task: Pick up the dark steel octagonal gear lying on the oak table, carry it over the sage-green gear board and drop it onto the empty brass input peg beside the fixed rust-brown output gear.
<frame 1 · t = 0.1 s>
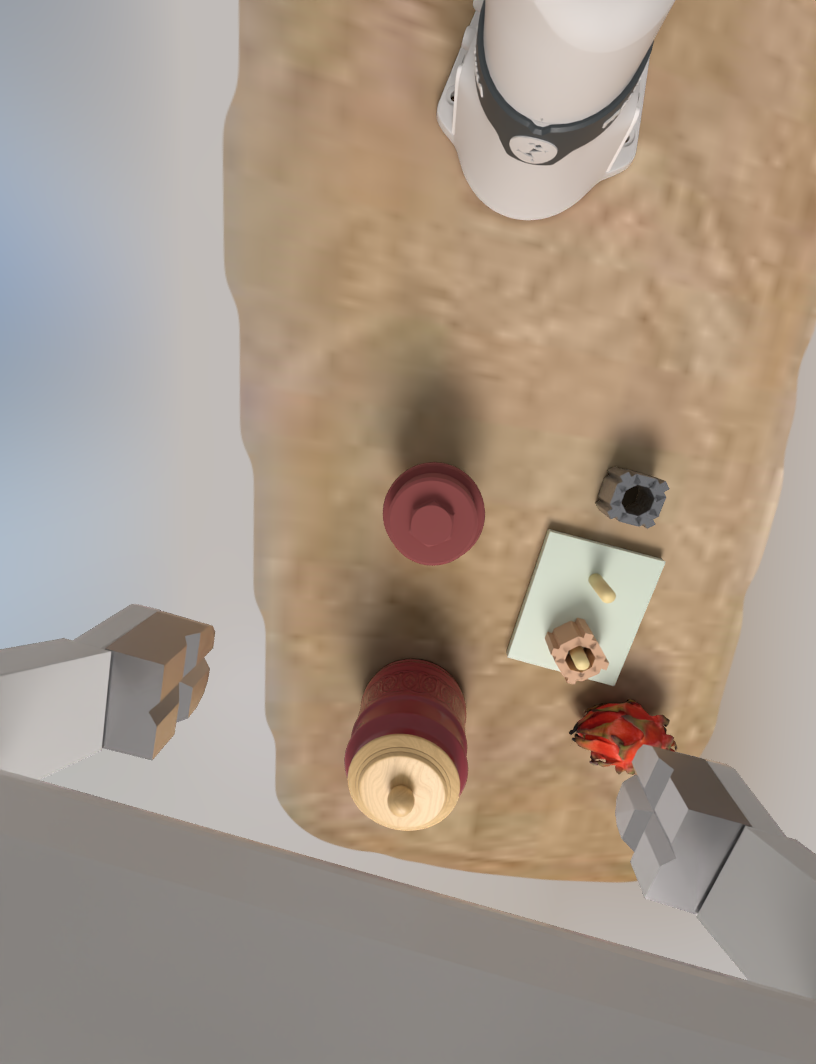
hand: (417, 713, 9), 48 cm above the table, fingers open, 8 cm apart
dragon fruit: (612, 718, 62), on the table
loose gear: (623, 492, 55), on the table
canister: (414, 701, 64), on the table
gear board: (580, 607, 59), on the table
mechanical component: (436, 499, 57), on the table
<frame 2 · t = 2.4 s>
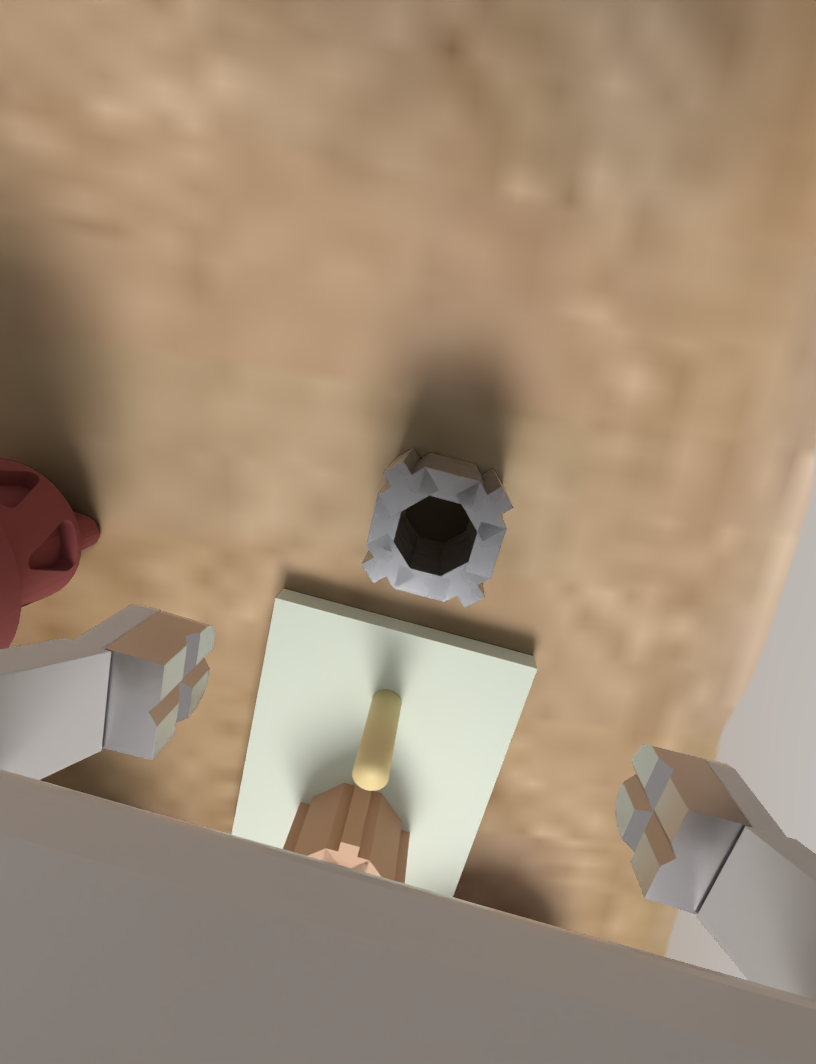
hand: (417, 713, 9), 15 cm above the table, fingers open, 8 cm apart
loose gear: (438, 509, 24), on the table
gear board: (372, 749, 28), on the table
mechanical component: (42, 521, 26), on the table
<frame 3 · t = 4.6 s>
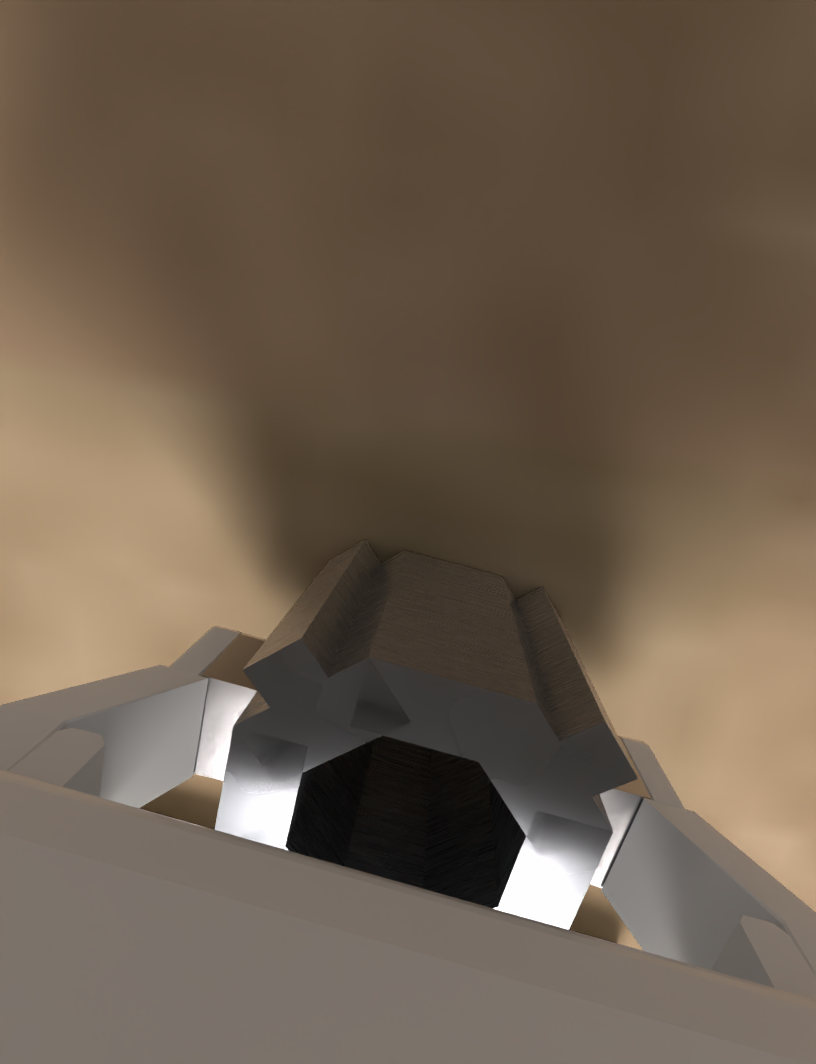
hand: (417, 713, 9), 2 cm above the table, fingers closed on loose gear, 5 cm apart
loose gear: (423, 667, 11), on the table, touching gripper
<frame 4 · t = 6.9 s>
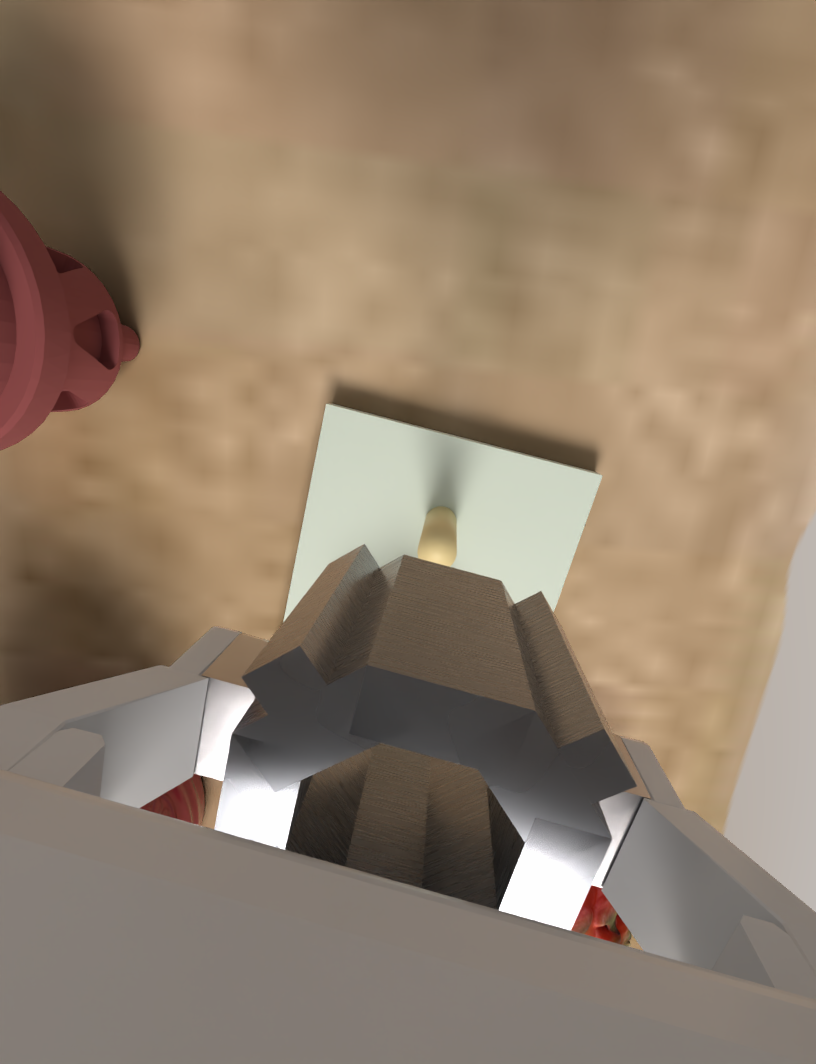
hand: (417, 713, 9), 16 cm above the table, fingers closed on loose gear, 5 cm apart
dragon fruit: (506, 821, 30), on the table
loose gear: (422, 672, 11), point 15 cm above the table, touching gripper
canister: (113, 780, 32), on the table
gear board: (421, 588, 26), on the table
mechanical component: (79, 337, 25), on the table
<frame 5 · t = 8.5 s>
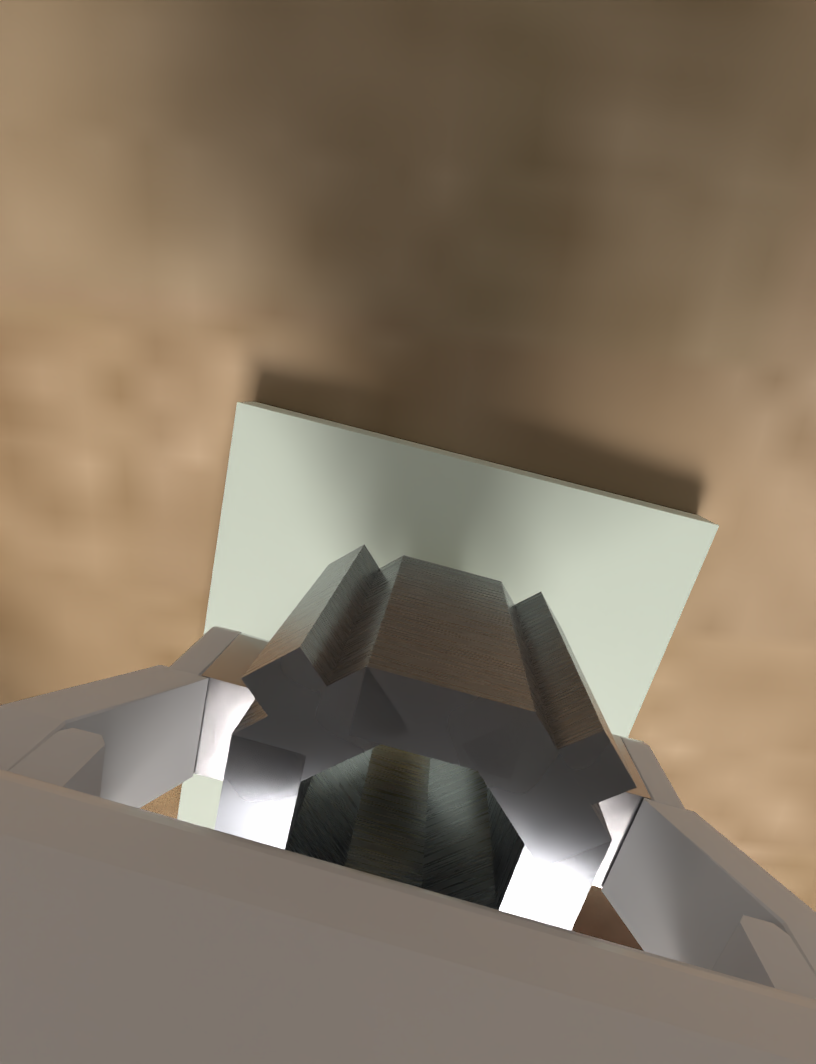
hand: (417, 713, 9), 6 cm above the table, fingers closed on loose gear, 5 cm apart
loose gear: (421, 672, 11), point 5 cm above the table, touching gripper
gear board: (407, 695, 16), on the table
when the fingers open (5 cm above the table, at t = 9.6 s): loose gear drops 2 cm, resting on gear board.
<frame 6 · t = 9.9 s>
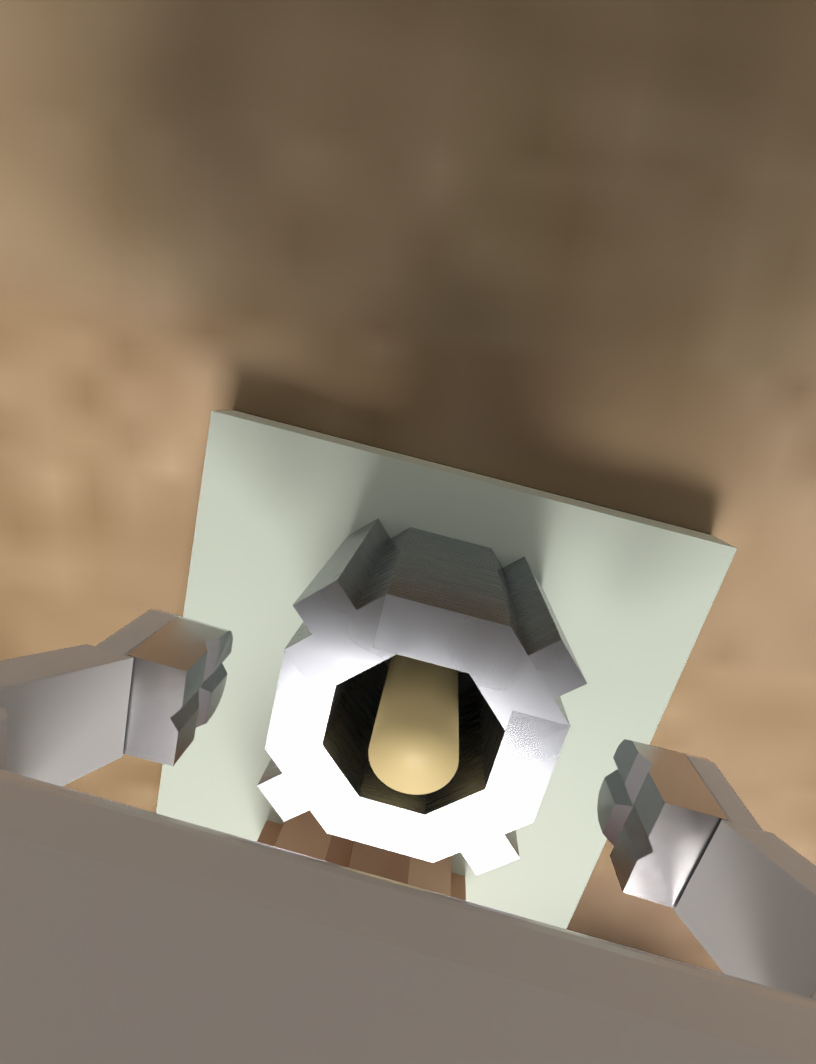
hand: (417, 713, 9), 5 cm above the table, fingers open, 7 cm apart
loose gear: (426, 626, 13), point 1 cm above the table, touching gear board
gear board: (397, 725, 15), on the table
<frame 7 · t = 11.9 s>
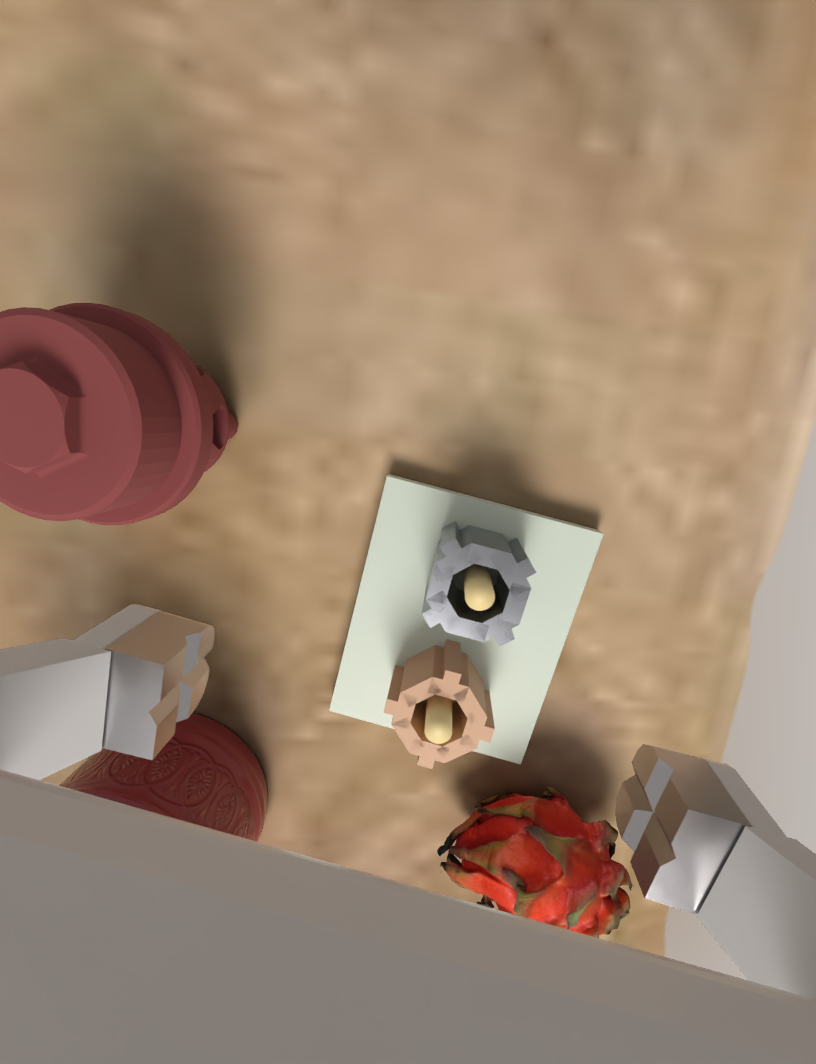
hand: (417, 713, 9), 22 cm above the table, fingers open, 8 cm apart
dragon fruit: (524, 817, 35), on the table
loose gear: (474, 568, 30), point 1 cm above the table, touching gear board
canister: (187, 783, 37), on the table
gear board: (457, 620, 32), on the table
mechanical component: (187, 419, 31), on the table
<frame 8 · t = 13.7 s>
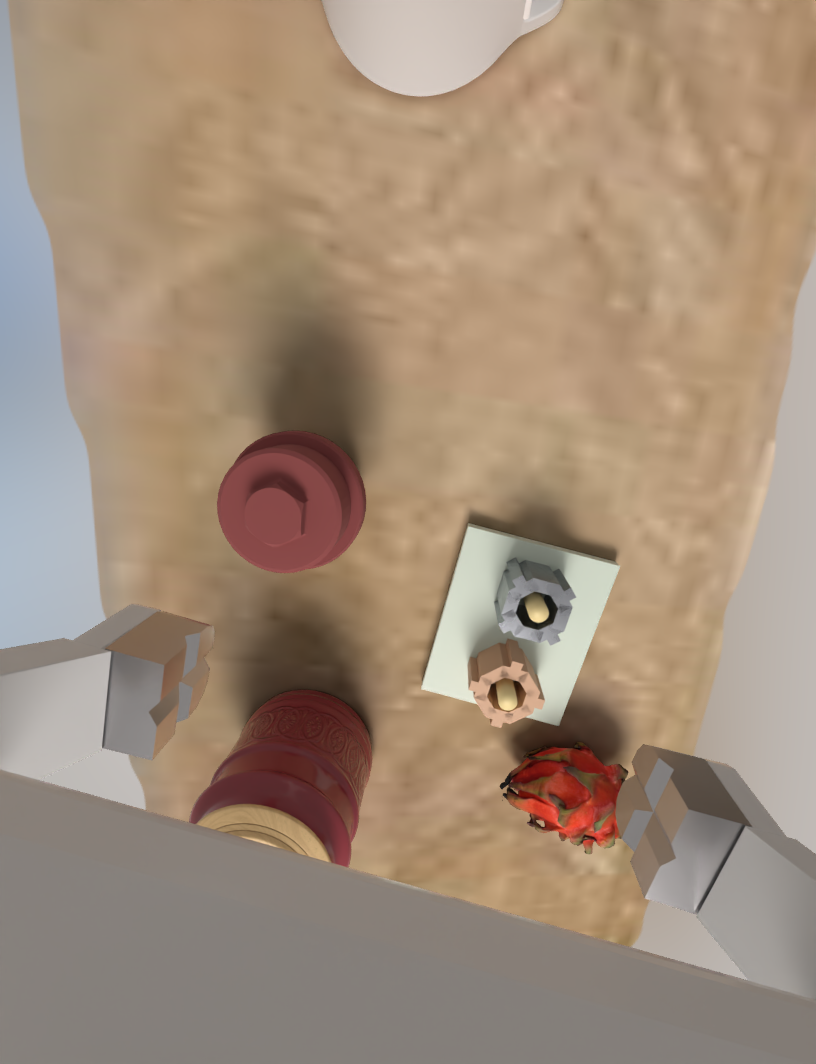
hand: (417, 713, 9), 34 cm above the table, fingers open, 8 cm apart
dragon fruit: (559, 764, 49), on the table
loose gear: (528, 589, 43), point 1 cm above the table, touching gear board
canister: (311, 741, 51), on the table
gear board: (513, 624, 45), on the table
mechanical component: (323, 484, 44), on the table
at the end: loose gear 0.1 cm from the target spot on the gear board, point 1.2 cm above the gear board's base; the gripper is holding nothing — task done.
